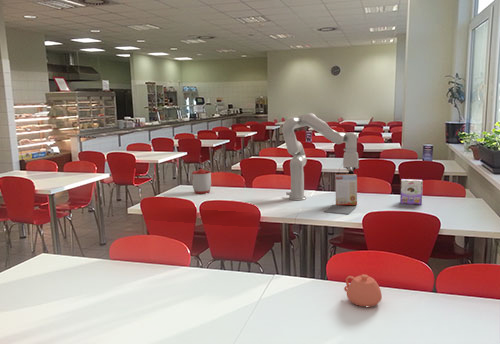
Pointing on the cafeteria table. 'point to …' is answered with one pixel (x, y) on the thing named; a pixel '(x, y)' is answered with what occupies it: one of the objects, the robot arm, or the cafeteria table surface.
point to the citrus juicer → (201, 181)
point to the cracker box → (346, 189)
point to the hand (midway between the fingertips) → (351, 176)
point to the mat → (340, 209)
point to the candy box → (411, 191)
